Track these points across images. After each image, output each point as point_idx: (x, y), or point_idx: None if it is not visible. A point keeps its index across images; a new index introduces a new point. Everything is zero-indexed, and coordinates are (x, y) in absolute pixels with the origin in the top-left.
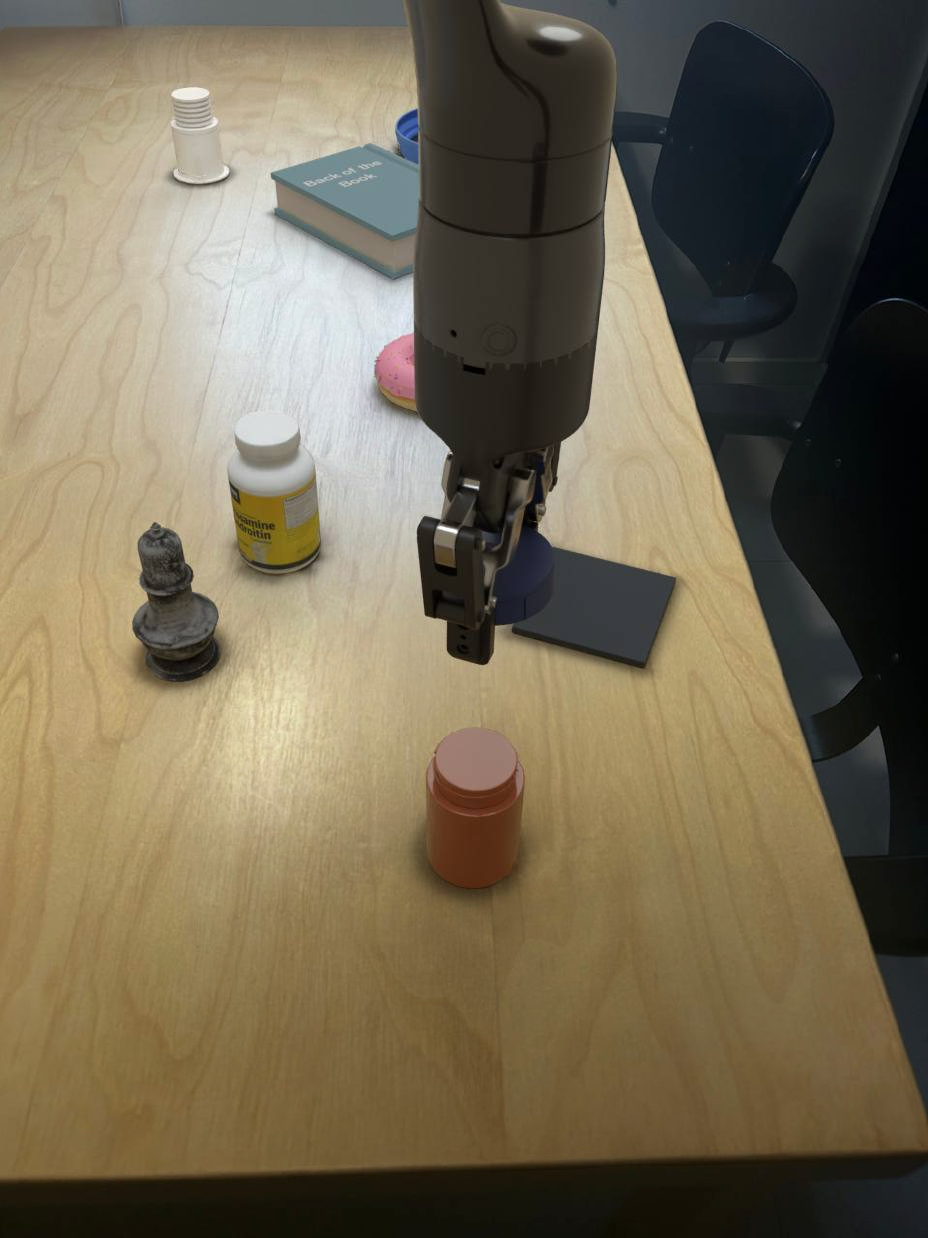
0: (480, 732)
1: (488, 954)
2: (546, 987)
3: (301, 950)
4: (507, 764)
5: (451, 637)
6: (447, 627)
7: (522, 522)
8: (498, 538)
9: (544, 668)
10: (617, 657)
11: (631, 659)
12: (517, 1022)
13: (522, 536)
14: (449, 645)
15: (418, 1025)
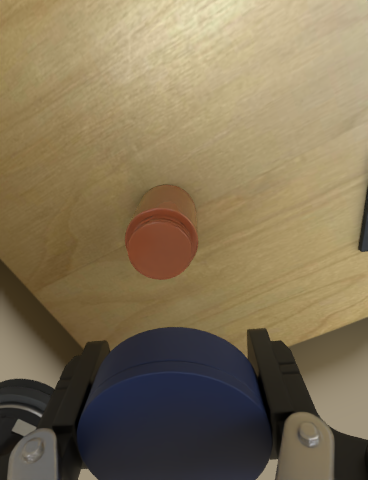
0: (184, 244)
1: (111, 248)
2: (112, 279)
3: (49, 154)
4: (165, 273)
5: (56, 389)
6: (74, 375)
7: (277, 450)
8: (222, 437)
9: (339, 188)
10: (362, 233)
11: (362, 243)
12: (88, 274)
13: (240, 461)
14: (62, 374)
15: (56, 235)
